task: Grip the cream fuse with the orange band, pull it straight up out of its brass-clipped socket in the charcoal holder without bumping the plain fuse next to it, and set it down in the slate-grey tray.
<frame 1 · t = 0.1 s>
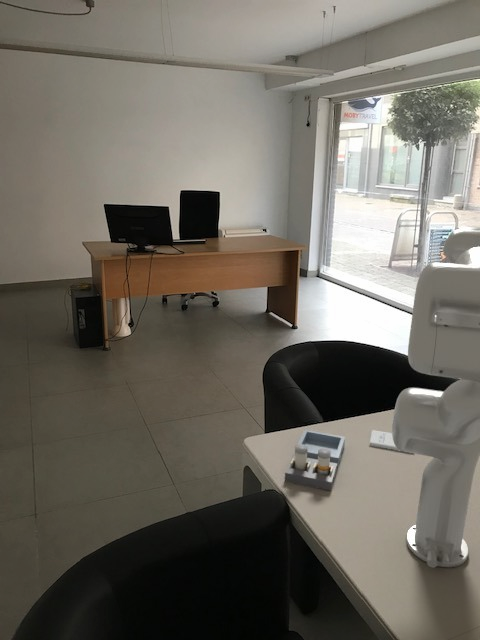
hand: (454, 351, 125), 37 cm above the table, tool pointing down, fingers open, 9 cm apart
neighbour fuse: (299, 474, 140), resting in fuse holder
fuse holder: (311, 476, 139), on the table
tray: (320, 452, 150), on the table
marked fuse: (322, 478, 138), resting in fuse holder
external hard drive: (391, 444, 156), on the table
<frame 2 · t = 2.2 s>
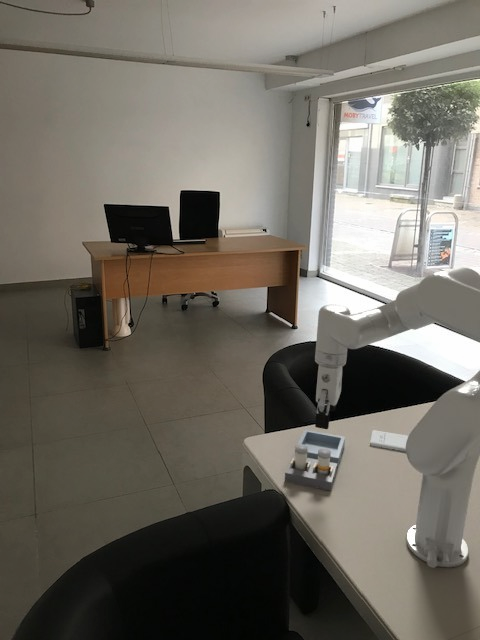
hand: (325, 418, 133), 17 cm above the table, tool pointing down, fingers open, 9 cm apart
nothing on the table moved.
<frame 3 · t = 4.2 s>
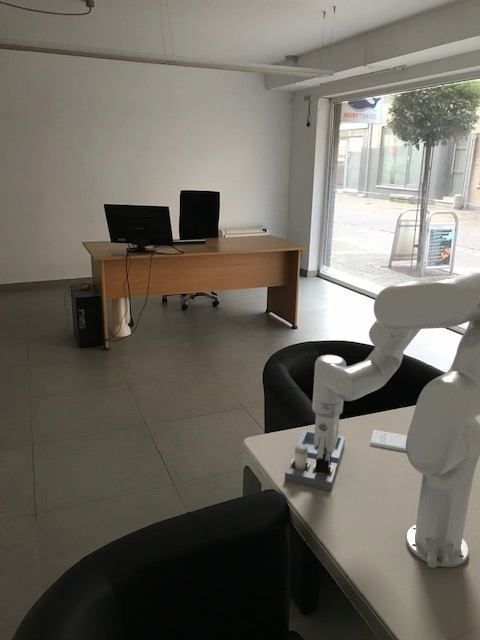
hand: (323, 467, 137), 3 cm above the table, tool pointing down, fingers closed on marked fuse, 3 cm apart
marked fuse: (322, 478, 138), resting in fuse holder, touching gripper
everything else where it was.
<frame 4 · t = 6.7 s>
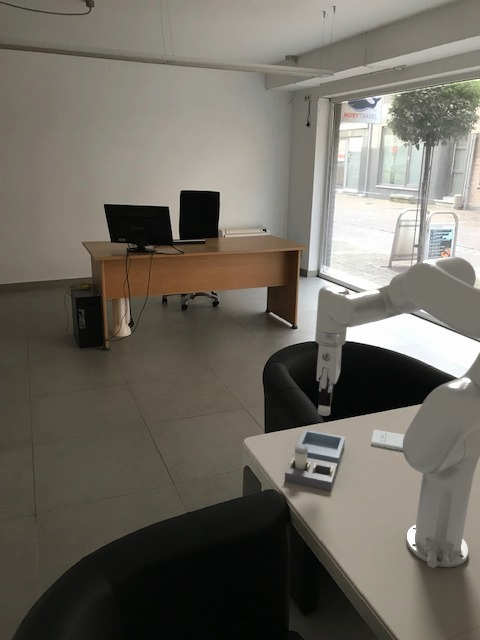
hand: (325, 401, 137), 20 cm above the table, tool pointing down, fingers closed on marked fuse, 3 cm apart
marked fuse: (323, 412, 138), point 16 cm above the table, touching gripper
everything else where it was.
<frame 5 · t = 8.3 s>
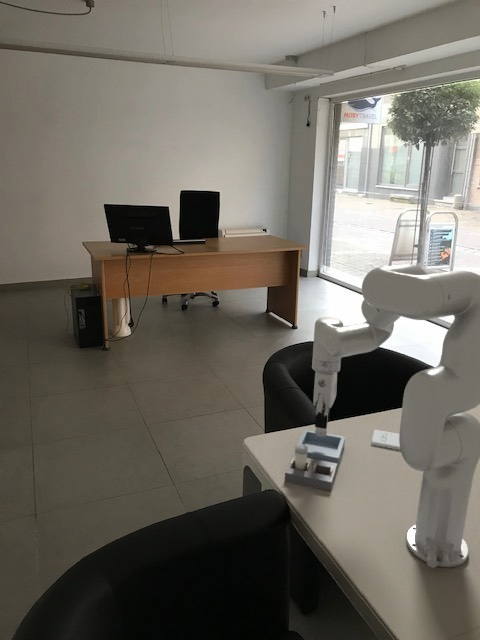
hand: (322, 423, 147), 9 cm above the table, tool pointing down, fingers closed on marked fuse, 3 cm apart
marked fuse: (320, 434, 148), point 6 cm above the table, touching gripper
everything else where it was.
when the fingers open (5 cm above the table, at t = 9.4 s): marked fuse stays where it is, resting on tray.
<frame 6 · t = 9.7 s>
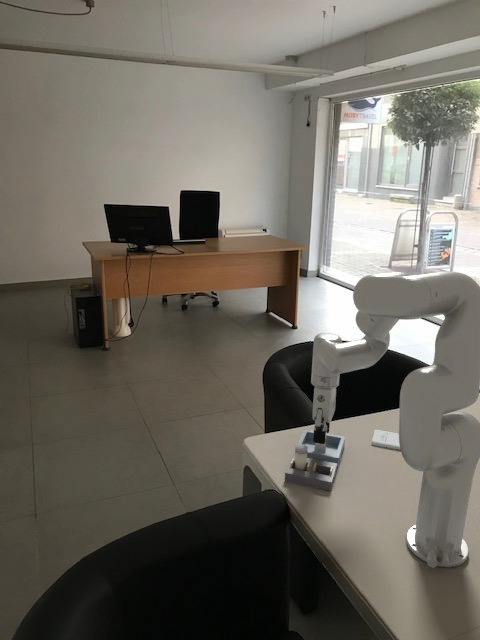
hand: (321, 436, 148), 5 cm above the table, tool pointing down, fingers open, 5 cm apart
marked fuse: (319, 450, 150), resting on tray
everything else where it was.
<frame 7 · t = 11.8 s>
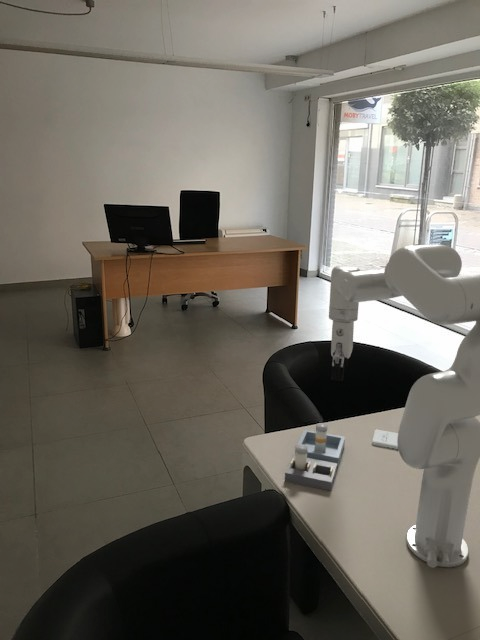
hand: (339, 373, 144), 24 cm above the table, tool pointing down, fingers open, 9 cm apart
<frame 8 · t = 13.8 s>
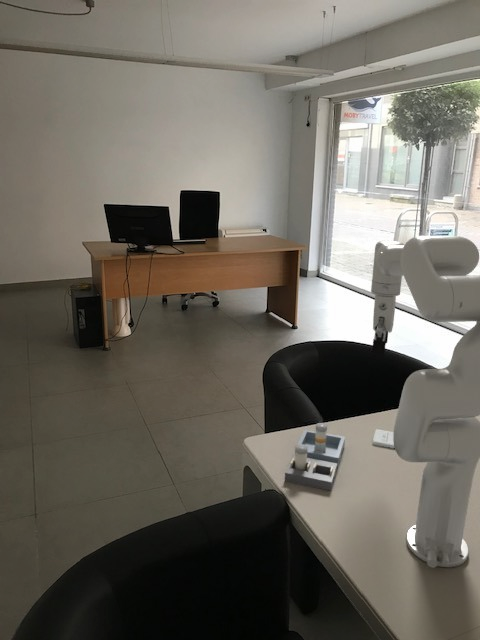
hand: (379, 348, 145), 30 cm above the table, tool pointing down, fingers open, 9 cm apart
at the end: marked fuse inside the target area on the tray (0.1 cm from its centre), point 0.5 cm above the tray's base; the gripper is holding nothing; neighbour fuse moved 0.0 cm from its start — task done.
